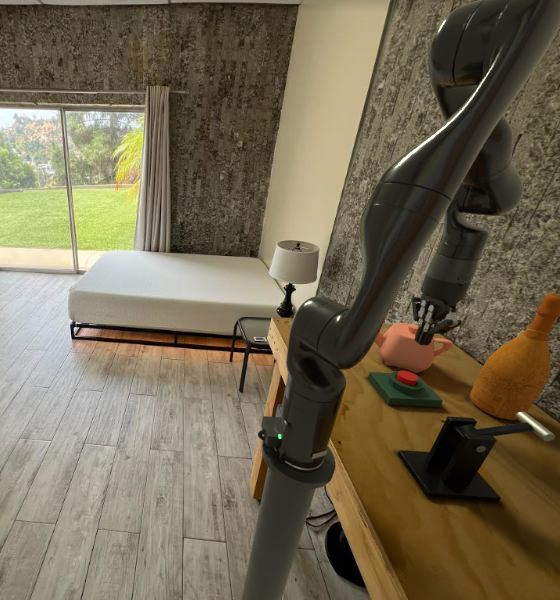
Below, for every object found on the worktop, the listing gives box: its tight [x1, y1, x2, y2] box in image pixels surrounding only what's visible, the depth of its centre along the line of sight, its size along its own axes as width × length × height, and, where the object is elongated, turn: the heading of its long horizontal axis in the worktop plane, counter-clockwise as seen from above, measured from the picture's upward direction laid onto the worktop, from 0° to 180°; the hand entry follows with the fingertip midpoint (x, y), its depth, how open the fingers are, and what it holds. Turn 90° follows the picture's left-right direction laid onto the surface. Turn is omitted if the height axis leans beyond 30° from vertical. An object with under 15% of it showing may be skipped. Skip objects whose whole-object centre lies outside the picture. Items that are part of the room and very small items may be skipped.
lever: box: [453, 412, 556, 443], centre depth 55 cm, size 12×5×2 cm, turn 84°
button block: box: [367, 370, 444, 408], centre depth 81 cm, size 12×10×4 cm
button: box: [396, 370, 418, 386], centre depth 80 cm, size 4×4×2 cm
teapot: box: [374, 322, 454, 374], centre depth 91 cm, size 13×20×12 cm, turn 58°
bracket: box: [397, 416, 502, 503], centre depth 58 cm, size 12×9×13 cm
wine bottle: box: [469, 292, 560, 421], centre depth 70 cm, size 10×10×30 cm
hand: (421, 343), depth 75 cm, fingers closed
